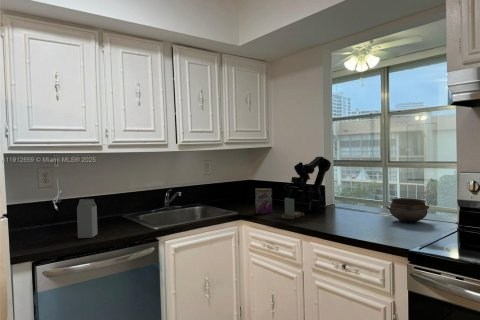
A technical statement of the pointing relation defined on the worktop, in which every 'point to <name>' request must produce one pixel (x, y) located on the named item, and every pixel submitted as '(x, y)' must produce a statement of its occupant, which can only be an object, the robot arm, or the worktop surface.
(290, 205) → the panel
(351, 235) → the worktop surface
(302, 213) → the rack
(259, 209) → the candy bar box
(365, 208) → the worktop surface
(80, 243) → the worktop surface
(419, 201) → the cooking pot
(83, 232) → the milk carton
